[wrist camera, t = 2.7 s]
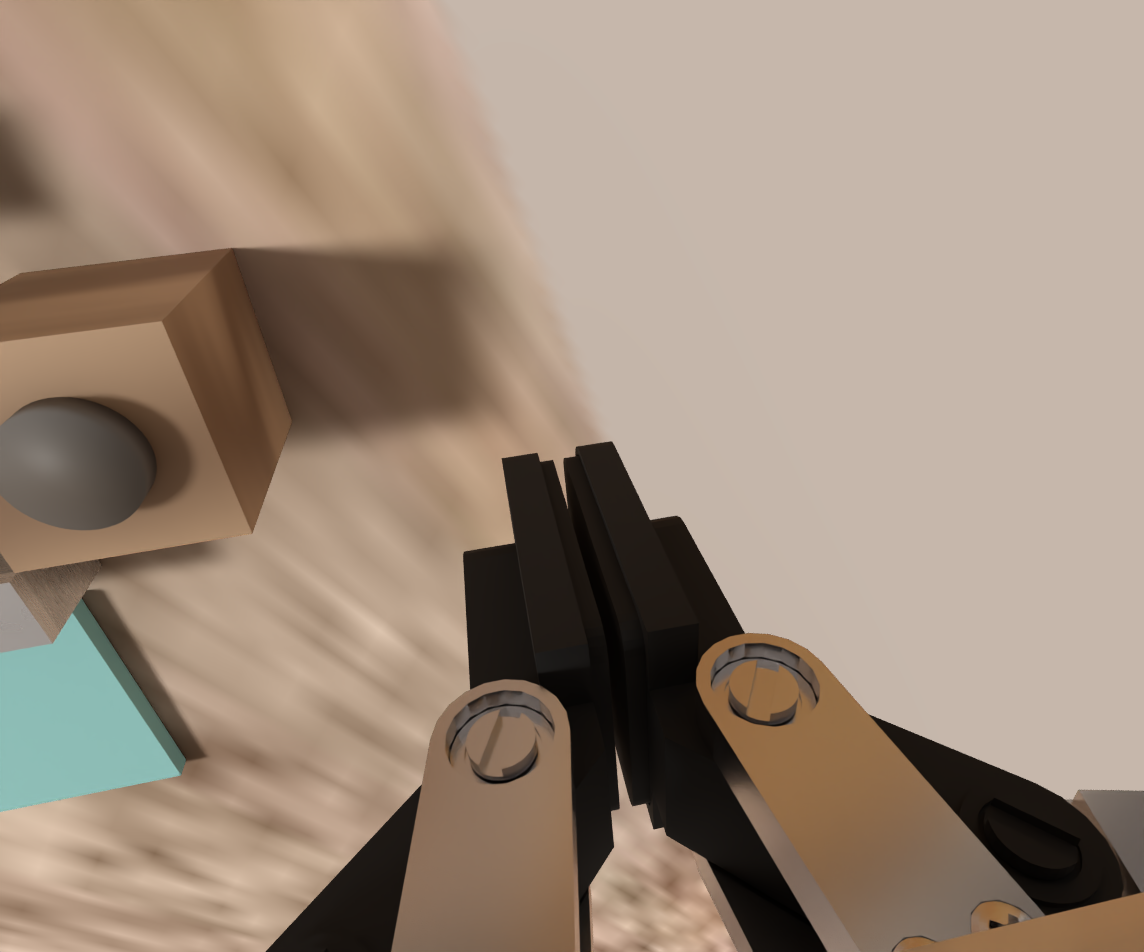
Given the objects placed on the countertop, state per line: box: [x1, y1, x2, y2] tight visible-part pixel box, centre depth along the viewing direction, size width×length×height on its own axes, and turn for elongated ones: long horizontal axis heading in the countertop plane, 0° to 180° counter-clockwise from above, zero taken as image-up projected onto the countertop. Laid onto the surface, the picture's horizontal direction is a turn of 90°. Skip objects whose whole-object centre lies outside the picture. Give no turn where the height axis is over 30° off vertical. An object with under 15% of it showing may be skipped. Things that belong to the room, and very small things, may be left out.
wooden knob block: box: [0, 248, 292, 573], centre depth 14 cm, size 4×4×6 cm
